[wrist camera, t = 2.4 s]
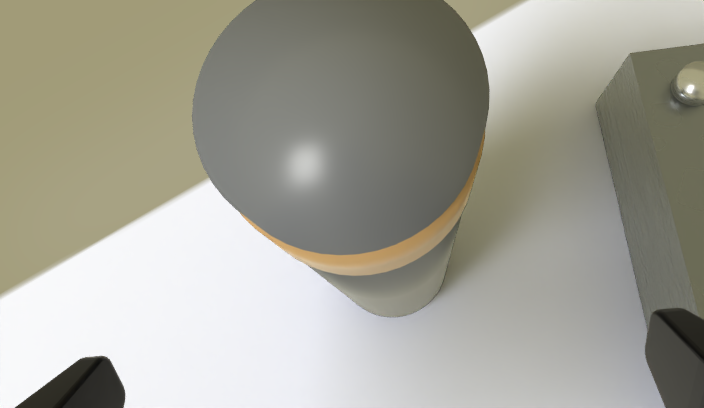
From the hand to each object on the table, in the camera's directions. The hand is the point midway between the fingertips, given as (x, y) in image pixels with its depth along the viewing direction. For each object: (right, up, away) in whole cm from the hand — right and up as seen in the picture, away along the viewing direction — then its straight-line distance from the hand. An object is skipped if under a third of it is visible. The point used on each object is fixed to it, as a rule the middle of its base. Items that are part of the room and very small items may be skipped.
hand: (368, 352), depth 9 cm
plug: (+1, 0, +11) cm, 11 cm away
